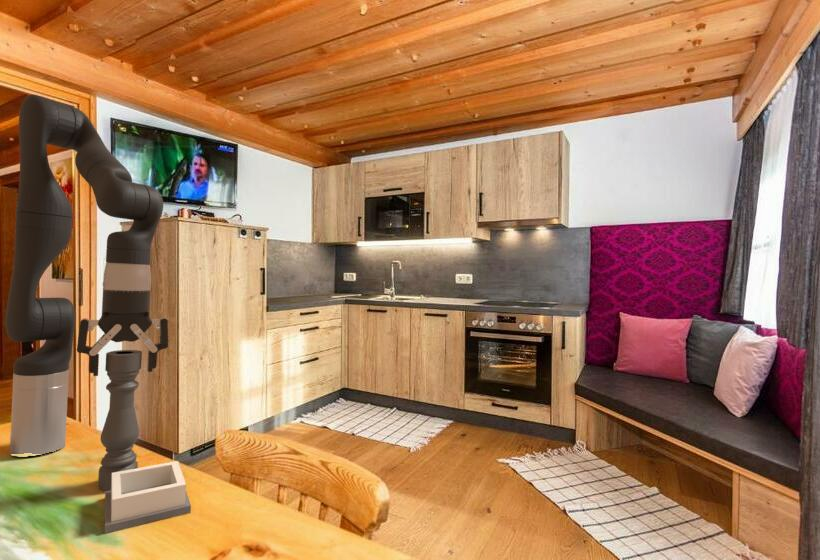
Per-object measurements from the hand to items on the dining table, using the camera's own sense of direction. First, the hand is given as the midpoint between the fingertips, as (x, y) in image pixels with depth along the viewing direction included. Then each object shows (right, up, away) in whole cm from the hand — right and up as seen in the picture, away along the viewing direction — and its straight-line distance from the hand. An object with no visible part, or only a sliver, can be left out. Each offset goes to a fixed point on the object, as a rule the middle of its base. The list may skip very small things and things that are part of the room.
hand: (123, 373), depth 81 cm
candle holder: (-1, -21, 0) cm, 21 cm away
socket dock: (+8, -22, -6) cm, 24 cm away
